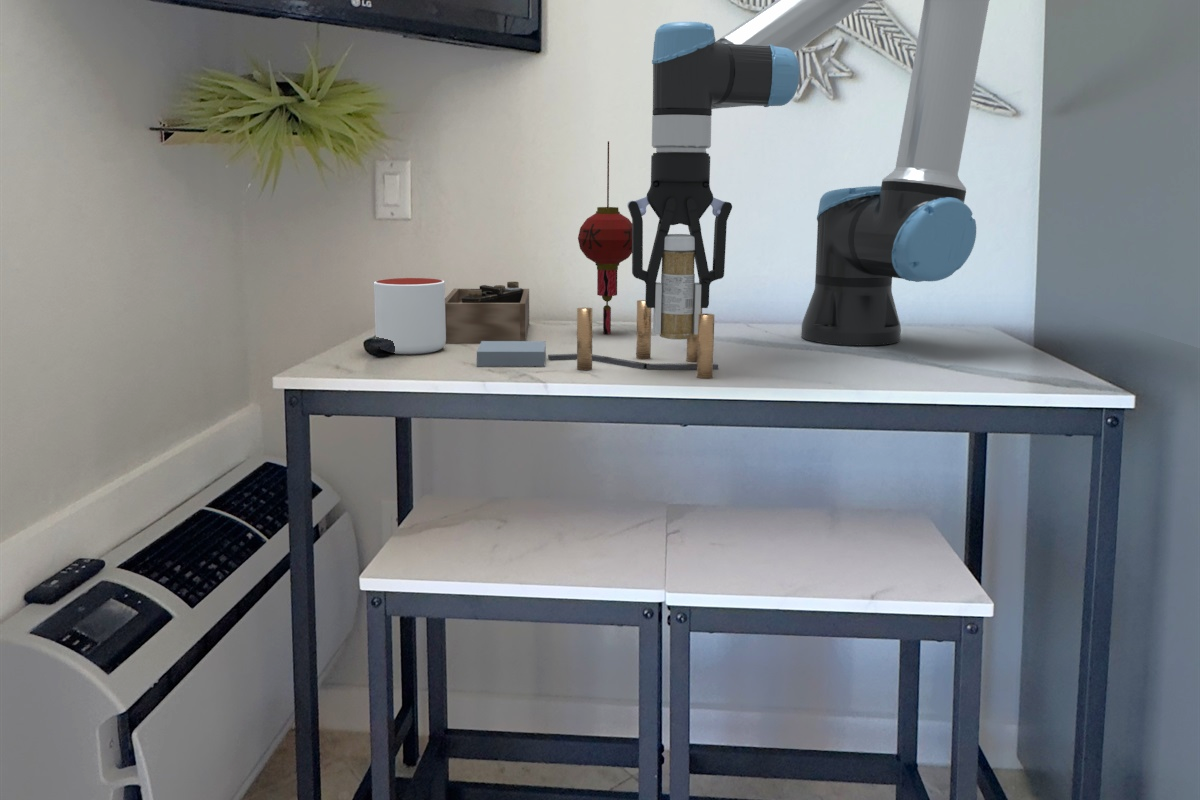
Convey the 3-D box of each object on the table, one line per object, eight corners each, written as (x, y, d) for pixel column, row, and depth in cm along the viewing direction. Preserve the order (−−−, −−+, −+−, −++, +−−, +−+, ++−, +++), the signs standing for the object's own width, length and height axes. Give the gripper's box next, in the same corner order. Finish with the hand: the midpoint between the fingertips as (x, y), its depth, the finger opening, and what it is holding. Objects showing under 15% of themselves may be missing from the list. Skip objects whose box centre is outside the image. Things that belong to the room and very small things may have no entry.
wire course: (708, 356, 154) (710, 300, 152) (725, 378, 138) (727, 315, 136) (548, 356, 153) (548, 299, 151) (546, 378, 137) (546, 315, 136)
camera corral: (529, 324, 185) (529, 288, 184) (525, 343, 165) (525, 303, 164) (454, 323, 184) (454, 288, 183) (441, 343, 164) (440, 303, 163)
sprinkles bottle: (676, 334, 147) (679, 233, 144) (700, 338, 143) (703, 235, 141) (651, 337, 144) (653, 234, 141) (675, 341, 141) (678, 236, 138)
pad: (545, 355, 154) (545, 341, 154) (544, 366, 146) (544, 351, 145) (481, 355, 154) (481, 341, 154) (476, 366, 145) (476, 351, 145)
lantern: (600, 327, 181) (601, 142, 175) (647, 333, 176) (650, 141, 170) (565, 334, 174) (565, 140, 167) (614, 340, 168) (615, 140, 162)
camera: (493, 327, 182) (492, 279, 180) (529, 329, 179) (528, 281, 178) (441, 341, 167) (440, 288, 165) (480, 344, 165) (479, 291, 163)
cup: (432, 357, 152) (430, 285, 150) (365, 354, 154) (362, 283, 152) (455, 346, 162) (454, 278, 160) (392, 343, 164) (389, 276, 162)
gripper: (744, 152, 143) (737, 329, 148) (610, 150, 142) (608, 328, 147) (754, 151, 136) (747, 337, 140) (613, 149, 135) (611, 336, 140)
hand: (676, 332), depth 144 cm, fingers closed on sprinkles bottle, 4 cm apart
